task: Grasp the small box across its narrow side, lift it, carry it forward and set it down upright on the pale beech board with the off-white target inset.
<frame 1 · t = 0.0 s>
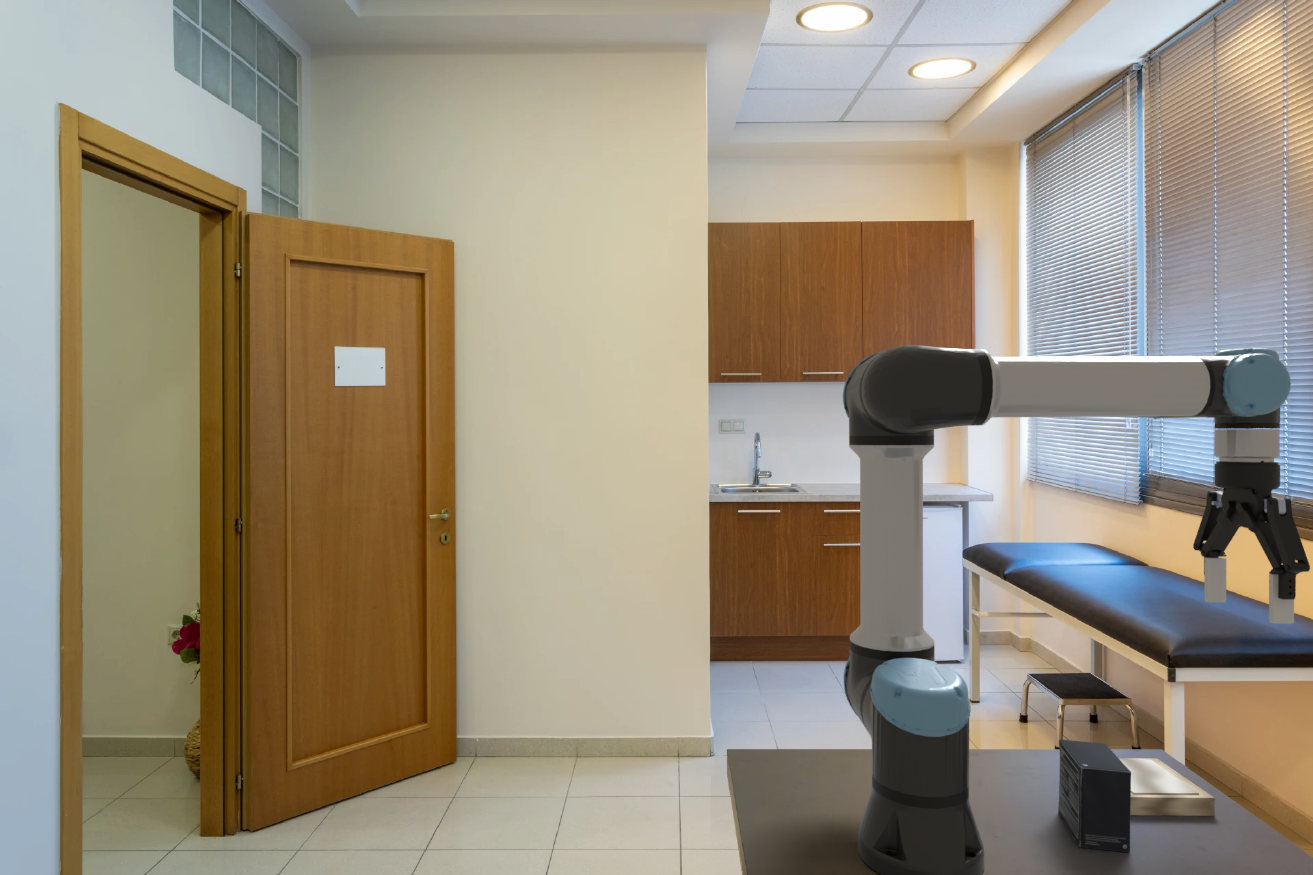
hand: (1246, 612, 117), 28 cm above the table, fingers open, 13 cm apart
beech board: (1142, 793, 123), on the table
small box: (1093, 833, 112), on the table
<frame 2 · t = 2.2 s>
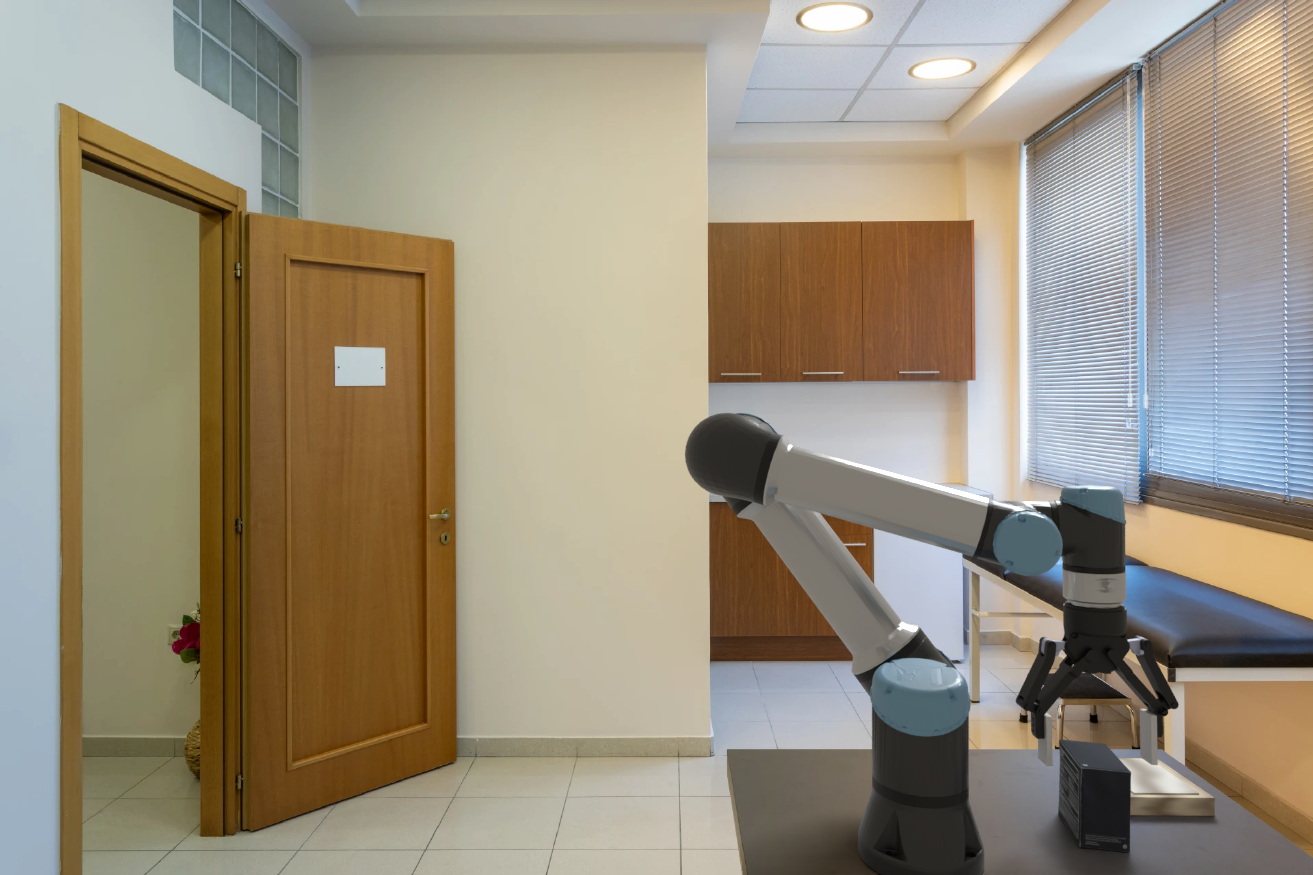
hand: (1097, 761, 112), 9 cm above the table, fingers open, 13 cm apart
nothing on the table moved.
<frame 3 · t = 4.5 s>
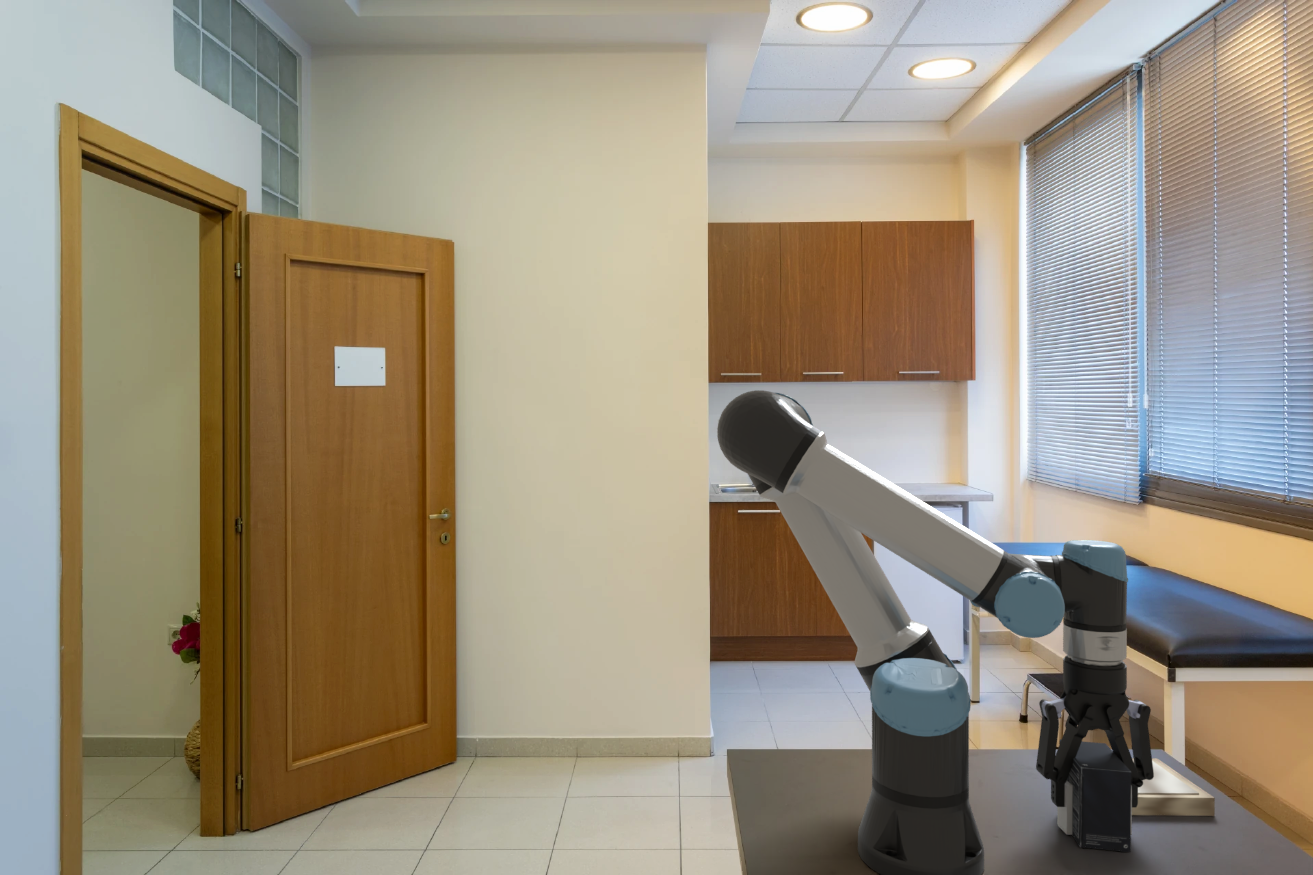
hand: (1094, 829, 112), 0 cm above the table, fingers closed on small box, 7 cm apart
small box: (1094, 833, 112), on the table, touching gripper
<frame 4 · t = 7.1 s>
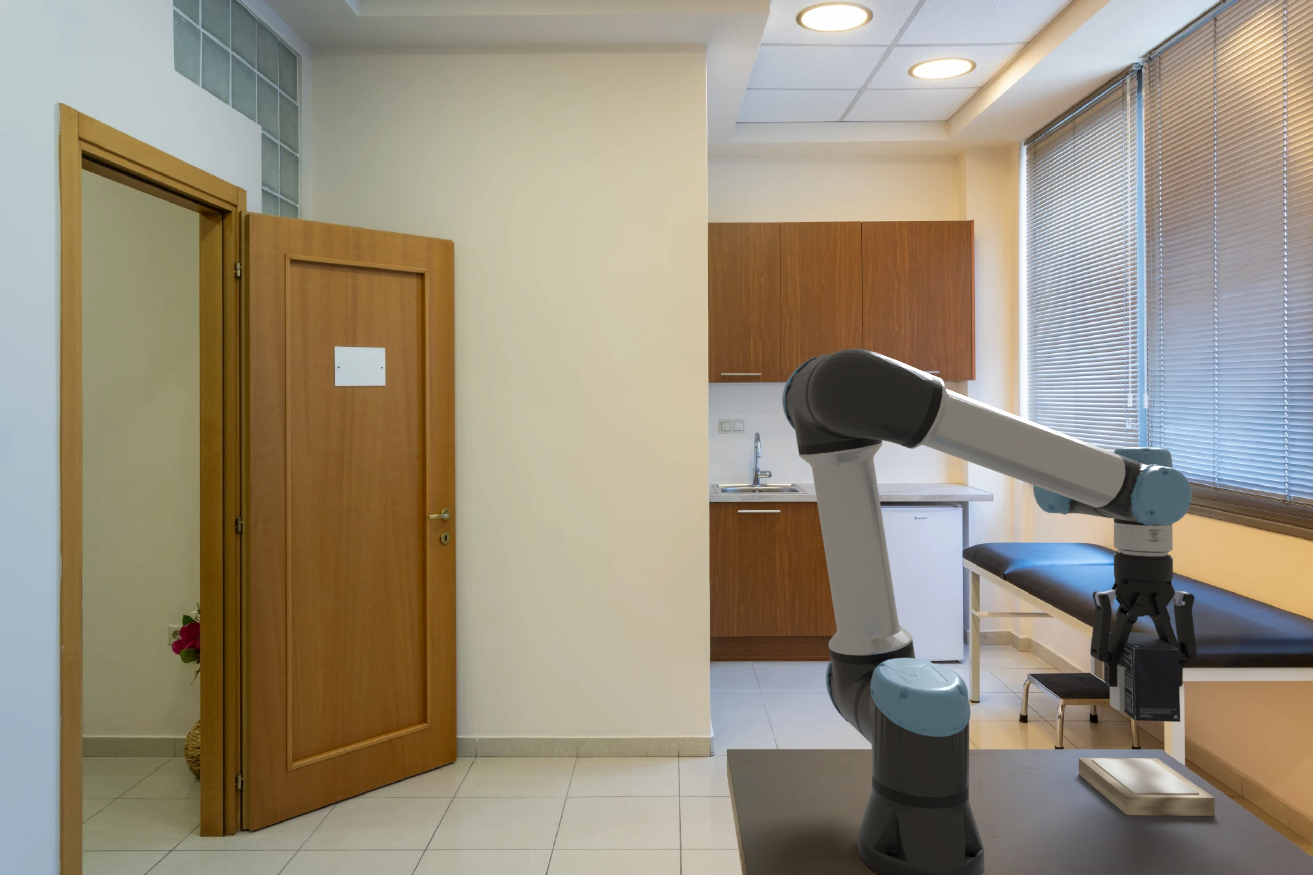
hand: (1143, 707, 123), 13 cm above the table, fingers closed on small box, 7 cm apart
small box: (1144, 711, 123), point 12 cm above the table, touching gripper
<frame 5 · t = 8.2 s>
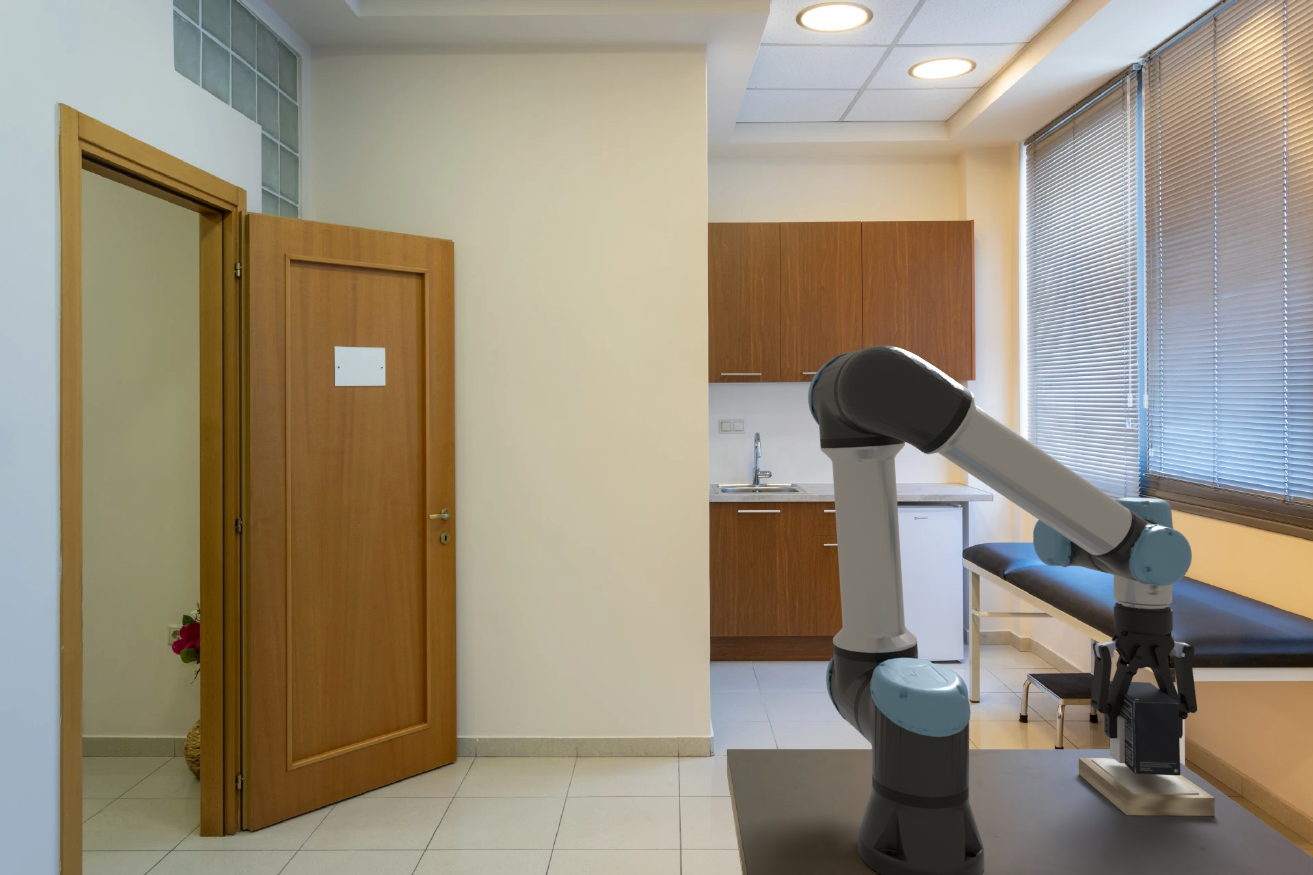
hand: (1143, 759, 123), 5 cm above the table, fingers closed on small box, 7 cm apart
small box: (1144, 763, 123), point 5 cm above the table, touching gripper
when the fingers open (3 cm above the table, at t = 9.5 s): small box stays where it is, resting on beech board.
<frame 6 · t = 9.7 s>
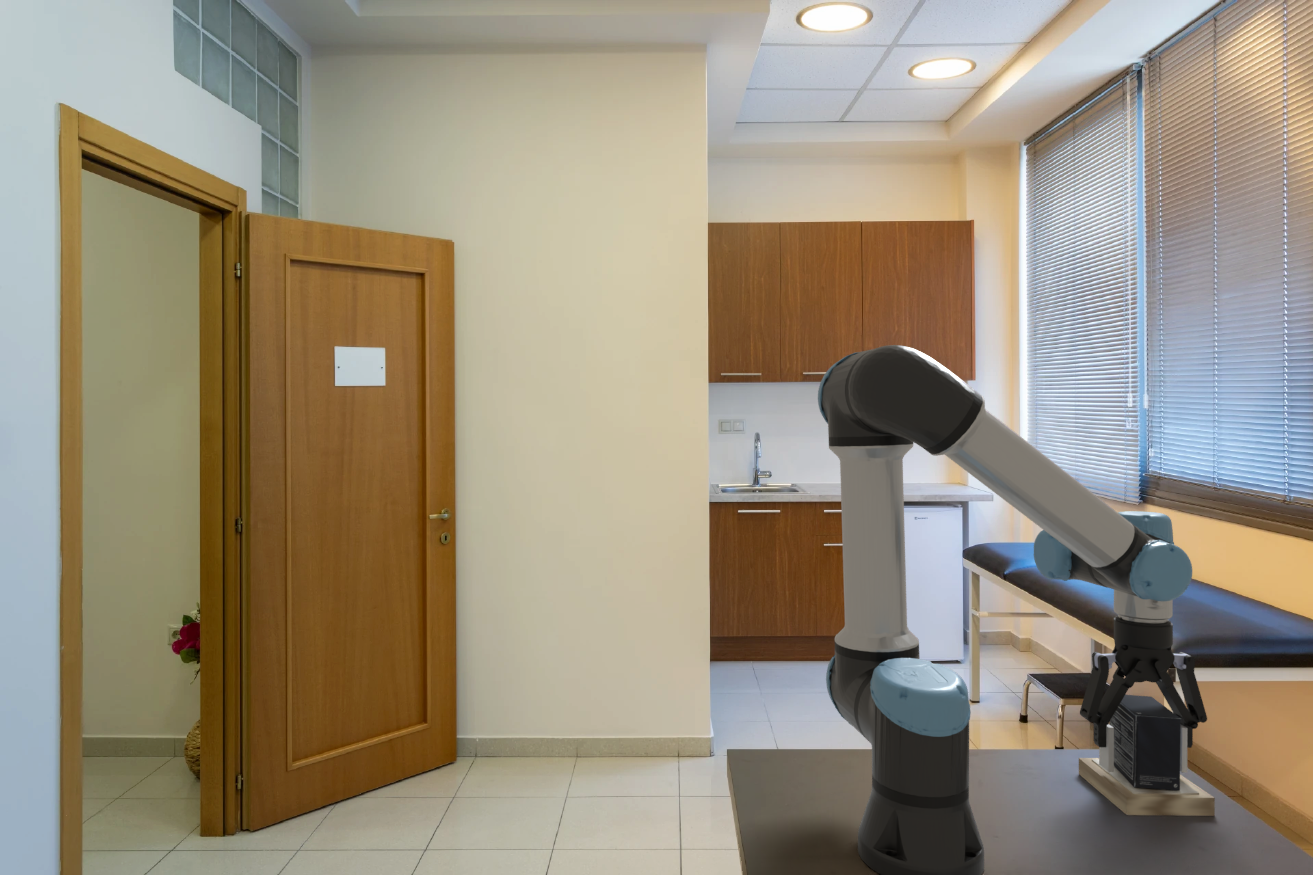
hand: (1142, 768, 123), 4 cm above the table, fingers open, 10 cm apart
small box: (1143, 776, 123), point 2 cm above the table, touching beech board
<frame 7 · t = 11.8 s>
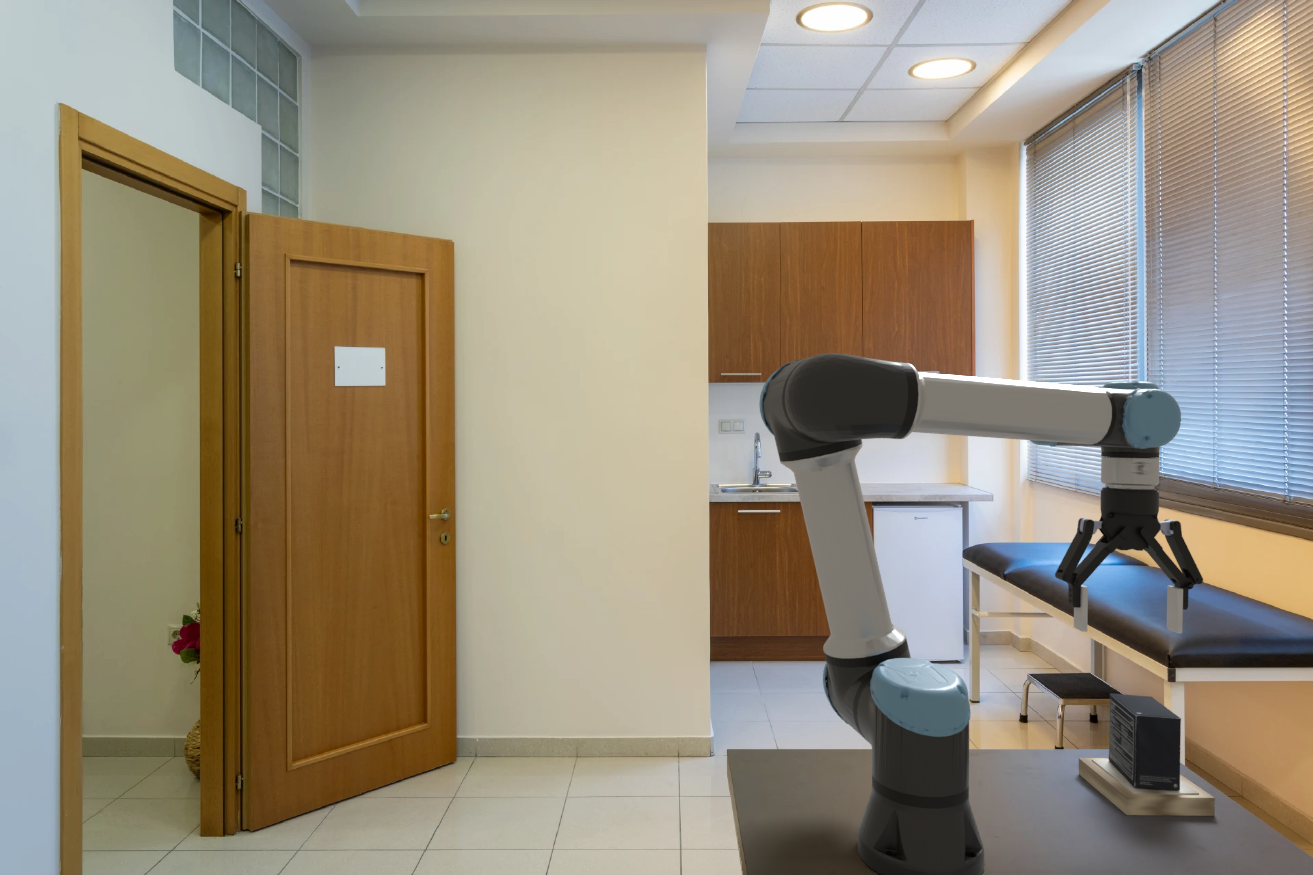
hand: (1127, 630, 124), 24 cm above the table, fingers open, 13 cm apart
nothing on the table moved.
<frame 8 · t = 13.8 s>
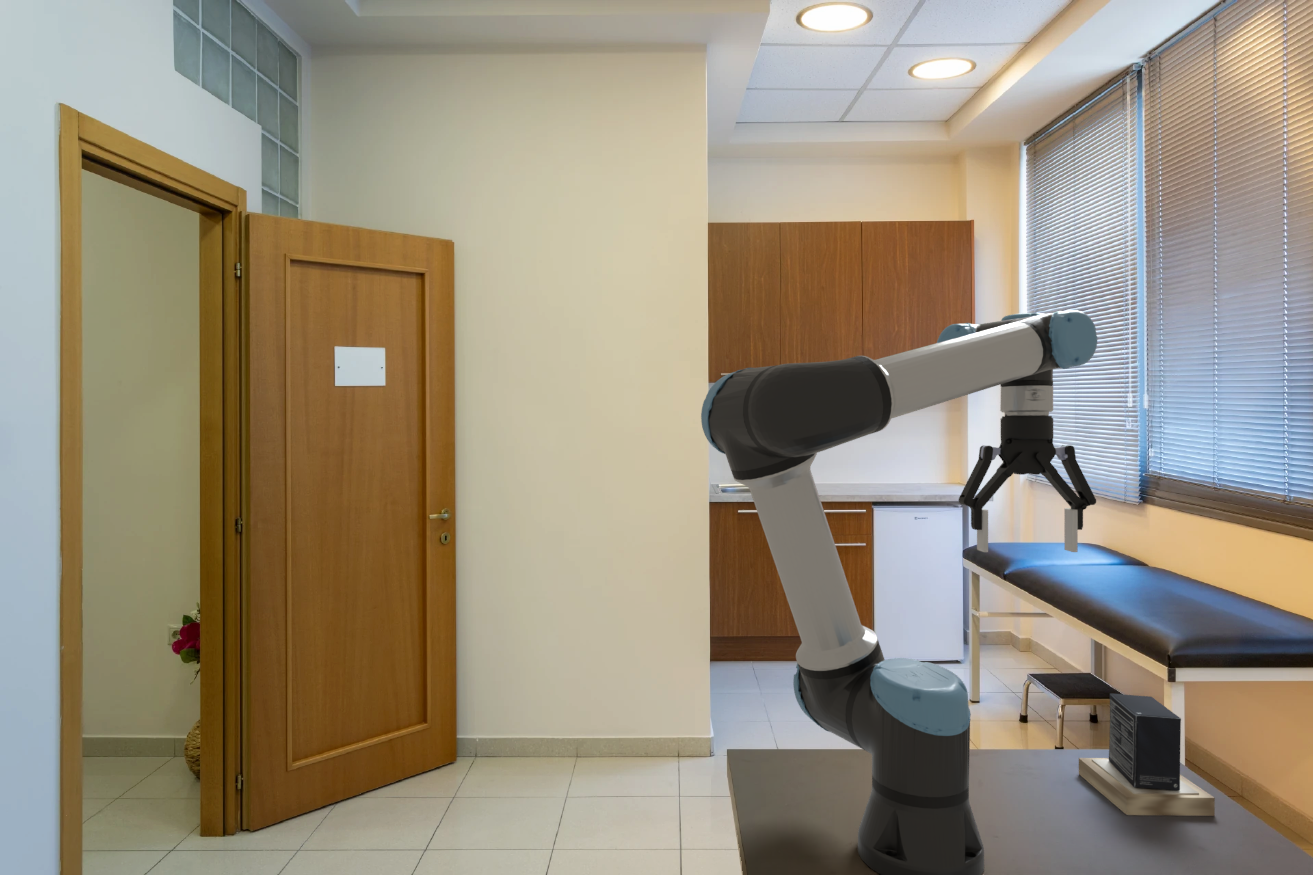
hand: (1026, 551, 131), 35 cm above the table, fingers open, 13 cm apart
nothing on the table moved.
at the end: small box inside the target area on the beech board (0.1 cm from its centre), point 2.5 cm above the beech board's base; small box tilted 0°; the gripper is holding nothing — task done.
